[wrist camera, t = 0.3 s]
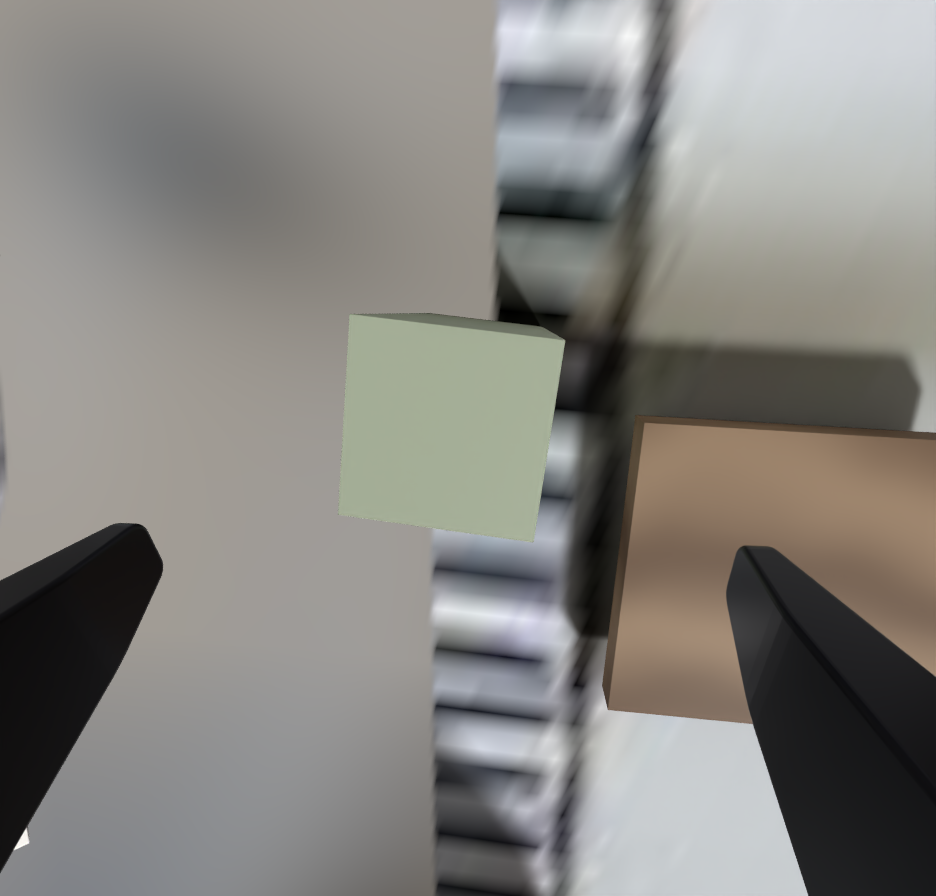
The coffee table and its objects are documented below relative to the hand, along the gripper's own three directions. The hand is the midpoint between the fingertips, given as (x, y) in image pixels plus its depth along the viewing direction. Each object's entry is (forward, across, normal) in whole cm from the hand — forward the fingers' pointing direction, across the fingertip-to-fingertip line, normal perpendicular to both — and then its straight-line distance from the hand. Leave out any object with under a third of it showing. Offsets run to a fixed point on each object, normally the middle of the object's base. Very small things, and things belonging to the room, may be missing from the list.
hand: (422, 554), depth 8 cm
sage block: (+14, +1, +4) cm, 15 cm away
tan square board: (+12, -11, +11) cm, 20 cm away
